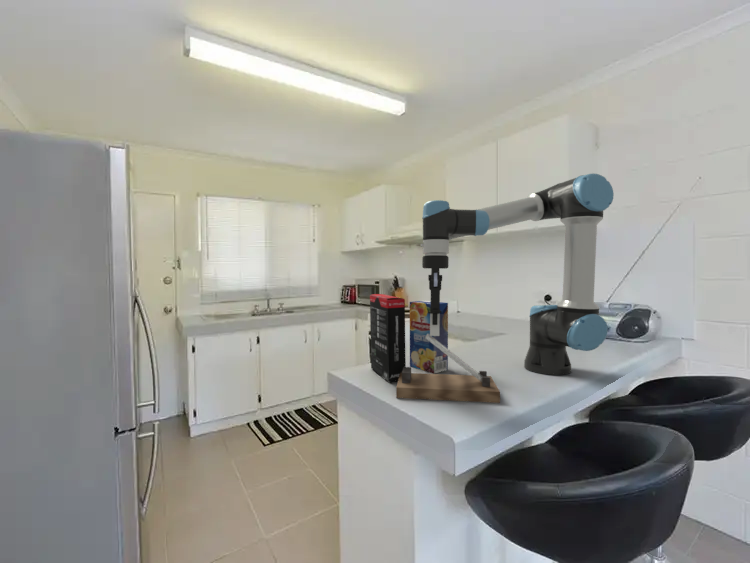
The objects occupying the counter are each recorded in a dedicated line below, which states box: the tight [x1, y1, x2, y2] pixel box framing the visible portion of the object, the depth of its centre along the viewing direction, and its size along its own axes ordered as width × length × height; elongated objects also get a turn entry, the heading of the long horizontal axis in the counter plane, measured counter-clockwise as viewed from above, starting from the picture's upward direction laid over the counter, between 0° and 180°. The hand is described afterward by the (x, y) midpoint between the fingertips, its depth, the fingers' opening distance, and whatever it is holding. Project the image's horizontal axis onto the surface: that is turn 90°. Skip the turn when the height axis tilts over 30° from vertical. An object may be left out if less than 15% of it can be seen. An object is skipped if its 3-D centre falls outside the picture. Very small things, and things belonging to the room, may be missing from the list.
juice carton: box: [409, 300, 449, 374], centre depth 128 cm, size 12×8×24 cm, turn 38°
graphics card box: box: [369, 293, 407, 383], centre depth 120 cm, size 17×7×27 cm, turn 21°
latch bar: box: [426, 334, 483, 382], centre depth 103 cm, size 22×4×1 cm
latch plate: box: [395, 366, 501, 404], centre depth 104 cm, size 28×14×6 cm, turn 82°
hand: (434, 335), depth 104 cm, fingers closed
